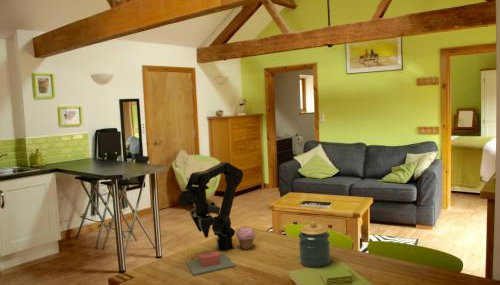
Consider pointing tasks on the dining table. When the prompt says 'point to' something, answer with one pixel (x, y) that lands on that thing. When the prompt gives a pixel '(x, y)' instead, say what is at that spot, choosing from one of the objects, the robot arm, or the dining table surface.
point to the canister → (314, 245)
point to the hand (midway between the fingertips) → (203, 234)
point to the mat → (197, 269)
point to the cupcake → (245, 237)
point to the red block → (209, 259)
